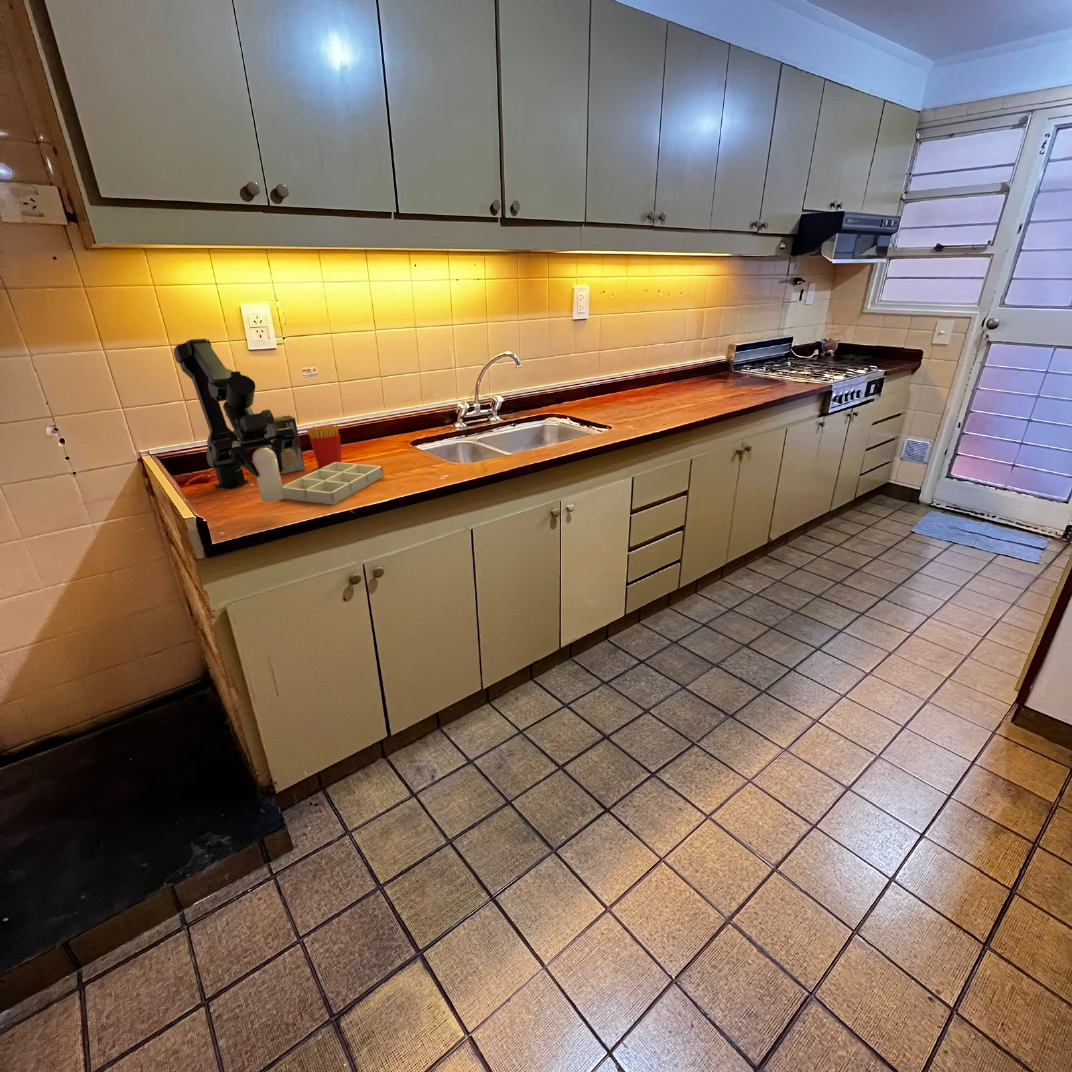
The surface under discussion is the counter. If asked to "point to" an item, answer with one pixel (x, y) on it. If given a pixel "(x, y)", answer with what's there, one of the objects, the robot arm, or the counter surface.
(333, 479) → the divided tray
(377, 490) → the counter surface
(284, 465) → the coffee box
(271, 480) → the white rounded cylinder
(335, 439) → the french fries
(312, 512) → the counter surface
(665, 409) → the counter surface
